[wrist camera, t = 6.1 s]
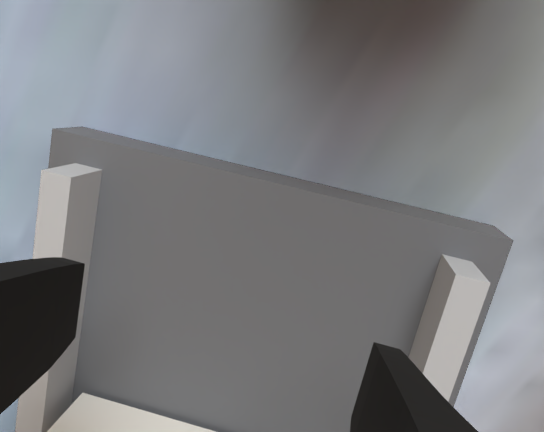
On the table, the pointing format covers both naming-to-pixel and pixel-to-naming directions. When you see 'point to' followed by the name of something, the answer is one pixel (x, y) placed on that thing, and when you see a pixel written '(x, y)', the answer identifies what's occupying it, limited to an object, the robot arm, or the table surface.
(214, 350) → the grey shallow rectangular tray
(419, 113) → the table surface
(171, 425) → the breaker toggle
